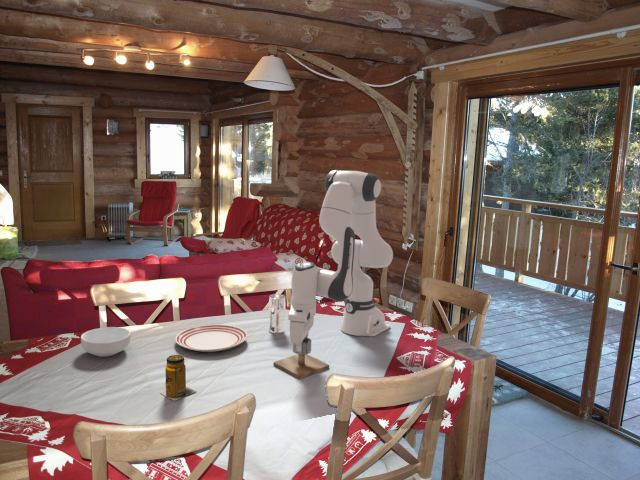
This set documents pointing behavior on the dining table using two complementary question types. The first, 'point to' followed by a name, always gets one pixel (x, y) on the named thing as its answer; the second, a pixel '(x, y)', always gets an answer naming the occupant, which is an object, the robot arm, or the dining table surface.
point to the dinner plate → (211, 337)
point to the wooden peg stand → (301, 365)
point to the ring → (304, 347)
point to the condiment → (176, 378)
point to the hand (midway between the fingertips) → (302, 346)
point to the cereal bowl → (105, 341)
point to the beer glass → (276, 312)
